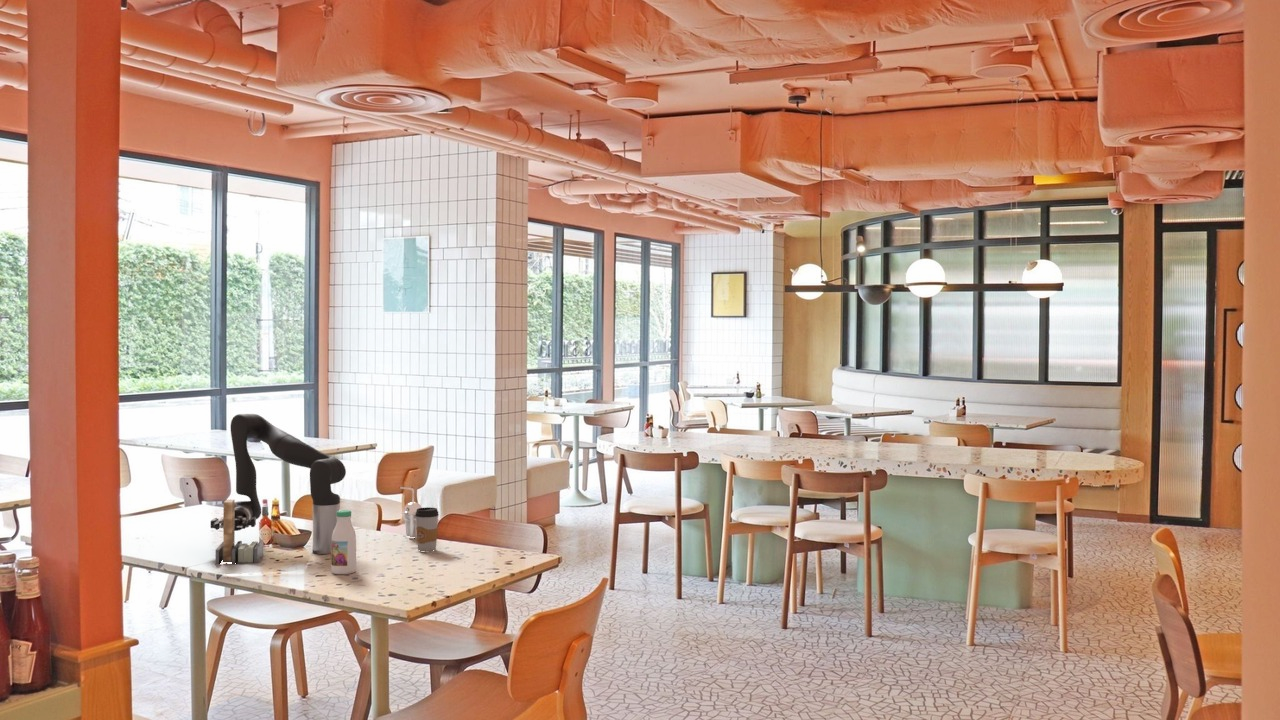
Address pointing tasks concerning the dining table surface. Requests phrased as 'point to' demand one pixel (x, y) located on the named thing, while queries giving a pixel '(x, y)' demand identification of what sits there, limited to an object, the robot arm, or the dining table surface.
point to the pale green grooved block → (246, 552)
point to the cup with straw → (410, 515)
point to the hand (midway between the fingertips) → (230, 526)
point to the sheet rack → (219, 553)
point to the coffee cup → (426, 528)
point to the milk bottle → (343, 545)
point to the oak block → (228, 530)
